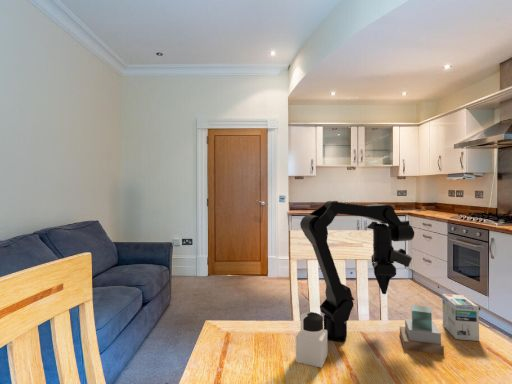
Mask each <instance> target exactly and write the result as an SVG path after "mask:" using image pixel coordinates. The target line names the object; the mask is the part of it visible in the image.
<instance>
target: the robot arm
mask: <svg viewBox="0 0 512 384" xmlns="http://www.w3.org/2000/svg"><path fill="white" fill-rule="evenodd" d="M394 208H395V207H394V206H392V205H391V204H381V203H376V204H375V203H372V204H367V205H366V204H365V205H363V204H356V203H348V202H347V203H346V202H339V201H335V200H328V201H326V202H325V203H323V204H322V205H321V206H320V207H318V208H317V209H315V210H314V211H312V212H310V213H309V214H306V215H304V216H303V217H302V219H301V221H300V224H299V225H300V229H301V231H302V232H303V234H304V236H305V237H306V239H307V240H308V241H309V243H310V244H311V245H312V248H313V251H314V253H315V256H316V260H317V263H318V266H319V268H320V270H321V273H322V277H323V280H324V283H325V292H324V293H325V297H326V298H325V299H324V301H323V302H322V303H321V304H320V305H319V309H320V312H321V313H322V314H324V315H323V329H325V330H327V341H336V342H343V343H345V342H346V338H347V336H348V323H347V322H348V321H349V319H350V316H351V312H352V310H353V308H354V301H355V298H354V297H353V294H352V290H351V288H350V287H349V286H347V285H346V284H343V283H342V282H341V279H340V276H339V272H338V271H337V267H336V265H335V262H334V258H333V256H332V253H331V250H330V246H329V245H328V236H329V232H328V226H330V225H331V224H332V223H333V222H334V220H335V218H336V217H337V215H345V216H346V215H347V216H356V217H362V218H366V219H368V220H372V221H371V223H369V224H368V225H367V226H366V228H367V229H368V230H369V229H370V230H372V237H373V238H372V239H373V240H372V248H373V249H372V250H373V251H372V252H373V253H372V255H371V265H372V268H373V274H374V277H375V279H376V281H377V283H378V287H379V289H380V292H381V294H382V295H387V292H388V288H389V283H390V281H391V279H392V278H394V277H396V275H397V268H396V266H395V265H394V263H397V264H400V265H402V266H403V267H406V268H409V267H410V264H411V261H412V259H413V258H412V257H411V255H409V254H407V251H406V250H405V249H404V248H399V249H398V250H396V249H395V248H394V246H393V242H407V241H412V240H413V239H414V236H415V231H414V228H413V227H412V225H411V224H410V221H409V220H400V218H399V216H398V215H397V213H396V211H395V209H394ZM378 222H379V223H378Z"/></svg>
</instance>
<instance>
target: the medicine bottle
mask: <svg viewBox="0 0 512 384" xmlns="http://www.w3.org/2000/svg"><path fill="white" fill-rule="evenodd" d="M328 354H329V353H328V340H327V330H325V329H324V316H322V314H319V313H317V312H313V311H307V312H304V313H302V314H300V329H299V330H298V332H297V333H296V335H295V362H296V363H300V364H304V365H308V366H311V367H316V368H323V367H324V364H325V362H326V359H327V357H328Z"/></svg>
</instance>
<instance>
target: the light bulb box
mask: <svg viewBox="0 0 512 384" xmlns="http://www.w3.org/2000/svg"><path fill="white" fill-rule="evenodd" d="M441 295H442V296H441V297H442V299H441V300H442V326H443V327H444V328H445V329H446V330H447V331H448V333H450V335H451V336H453V338H454V339H455V340H462V341H474V342H476V341H477V342H479V341H480V315H479V314H480V313H479V312H480V311H479V310H480V308H479V307H480V306H479V305H477V304H476V303H475V302H473V301H472V300H470V299H469V298H467V297H466V296H465V295H463V294H449V293H442V294H441Z"/></svg>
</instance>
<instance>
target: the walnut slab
mask: <svg viewBox="0 0 512 384" xmlns="http://www.w3.org/2000/svg"><path fill="white" fill-rule="evenodd" d="M399 336H400V340H401V343H402V346H403V350H407V351H414V352H420V353H426V354H427V353H429V354H436V355H445V346H444V344H443V342H442V341H441V344H435V343H427V342H420V341H412V340H409V338H408V335H407V332H406V329H405V326H399Z"/></svg>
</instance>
